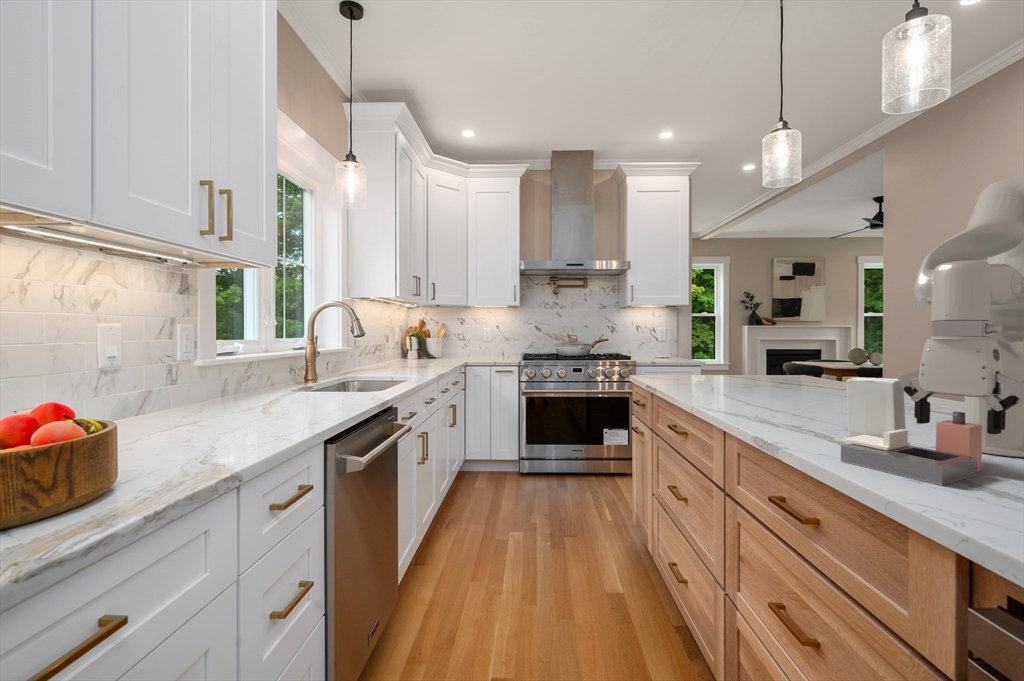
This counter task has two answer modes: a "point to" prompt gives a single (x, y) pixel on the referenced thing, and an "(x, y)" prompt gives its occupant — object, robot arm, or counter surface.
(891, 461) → the socket
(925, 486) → the counter surface
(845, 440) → the cream stepped block
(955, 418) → the plug
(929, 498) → the counter surface
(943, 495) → the counter surface
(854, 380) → the skincare box
